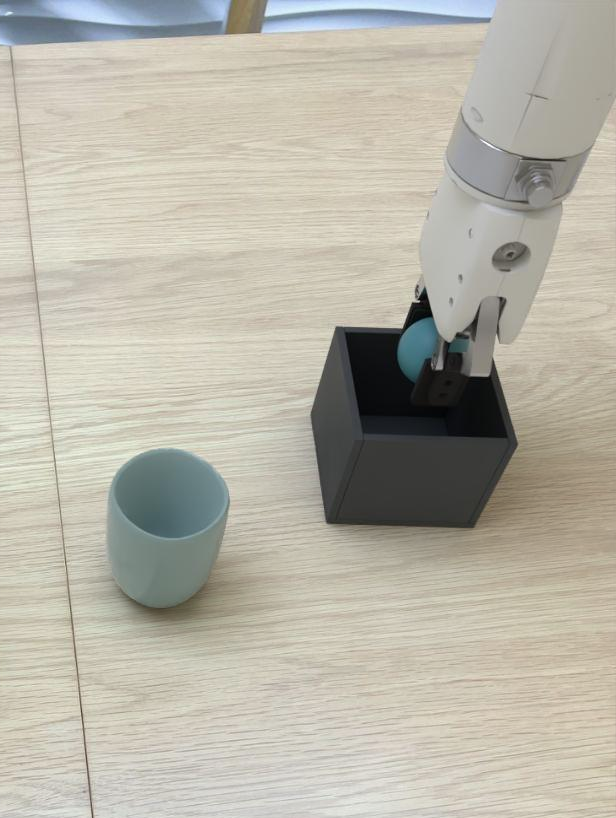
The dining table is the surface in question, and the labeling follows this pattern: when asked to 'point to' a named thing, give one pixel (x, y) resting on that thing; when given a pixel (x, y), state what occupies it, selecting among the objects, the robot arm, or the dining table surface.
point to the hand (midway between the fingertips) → (426, 372)
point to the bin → (403, 439)
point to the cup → (165, 525)
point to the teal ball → (422, 347)
